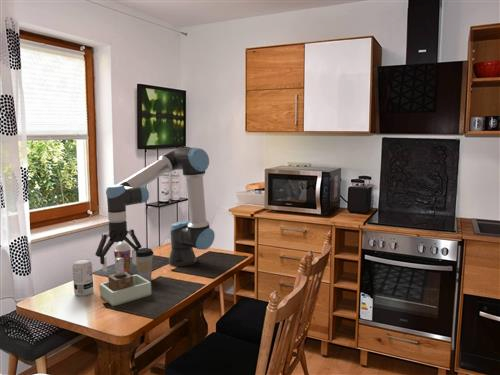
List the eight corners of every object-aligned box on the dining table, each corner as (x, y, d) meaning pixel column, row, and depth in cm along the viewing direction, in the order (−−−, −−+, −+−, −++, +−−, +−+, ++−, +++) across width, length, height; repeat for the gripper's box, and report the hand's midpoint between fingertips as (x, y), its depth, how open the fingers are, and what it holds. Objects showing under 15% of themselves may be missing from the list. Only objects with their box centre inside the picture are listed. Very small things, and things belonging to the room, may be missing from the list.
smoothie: (119, 278, 209) (117, 239, 206) (112, 274, 215) (110, 236, 212) (134, 274, 214) (132, 236, 211) (127, 270, 220) (125, 233, 217)
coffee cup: (149, 283, 202) (148, 253, 199) (131, 282, 204) (130, 252, 201) (157, 276, 211) (156, 248, 209) (140, 275, 213) (139, 247, 210)
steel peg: (123, 282, 187) (121, 256, 186) (126, 284, 185) (124, 258, 183) (115, 284, 185) (113, 258, 183) (118, 286, 182) (117, 260, 181)
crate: (137, 286, 198) (136, 274, 197) (151, 294, 188) (150, 282, 187) (100, 296, 186) (99, 283, 186) (113, 306, 176) (112, 292, 175)
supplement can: (74, 291, 193) (72, 260, 190) (93, 288, 196) (91, 257, 194) (74, 297, 185) (72, 265, 183) (94, 294, 188) (92, 263, 186)
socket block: (126, 291, 191) (125, 271, 190) (134, 297, 185) (132, 276, 184) (109, 296, 186) (108, 275, 185) (116, 302, 180) (115, 280, 179)
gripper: (140, 215, 192) (142, 259, 195) (85, 223, 175) (88, 271, 178) (147, 217, 186) (149, 263, 189) (92, 226, 170) (95, 276, 173)
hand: (120, 267), depth 184 cm, fingers open, 13 cm apart
